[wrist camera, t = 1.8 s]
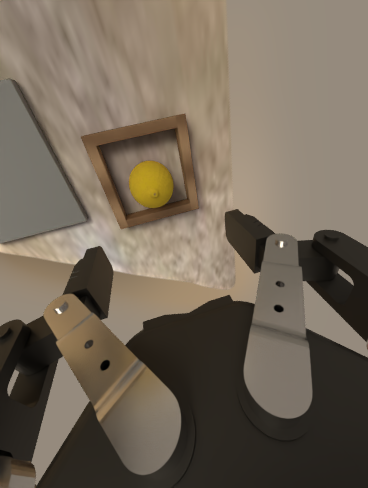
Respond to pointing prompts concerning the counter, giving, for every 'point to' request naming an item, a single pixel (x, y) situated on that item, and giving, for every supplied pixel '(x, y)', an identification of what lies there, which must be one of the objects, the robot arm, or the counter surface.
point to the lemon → (151, 184)
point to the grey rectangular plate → (30, 174)
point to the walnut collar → (137, 130)
